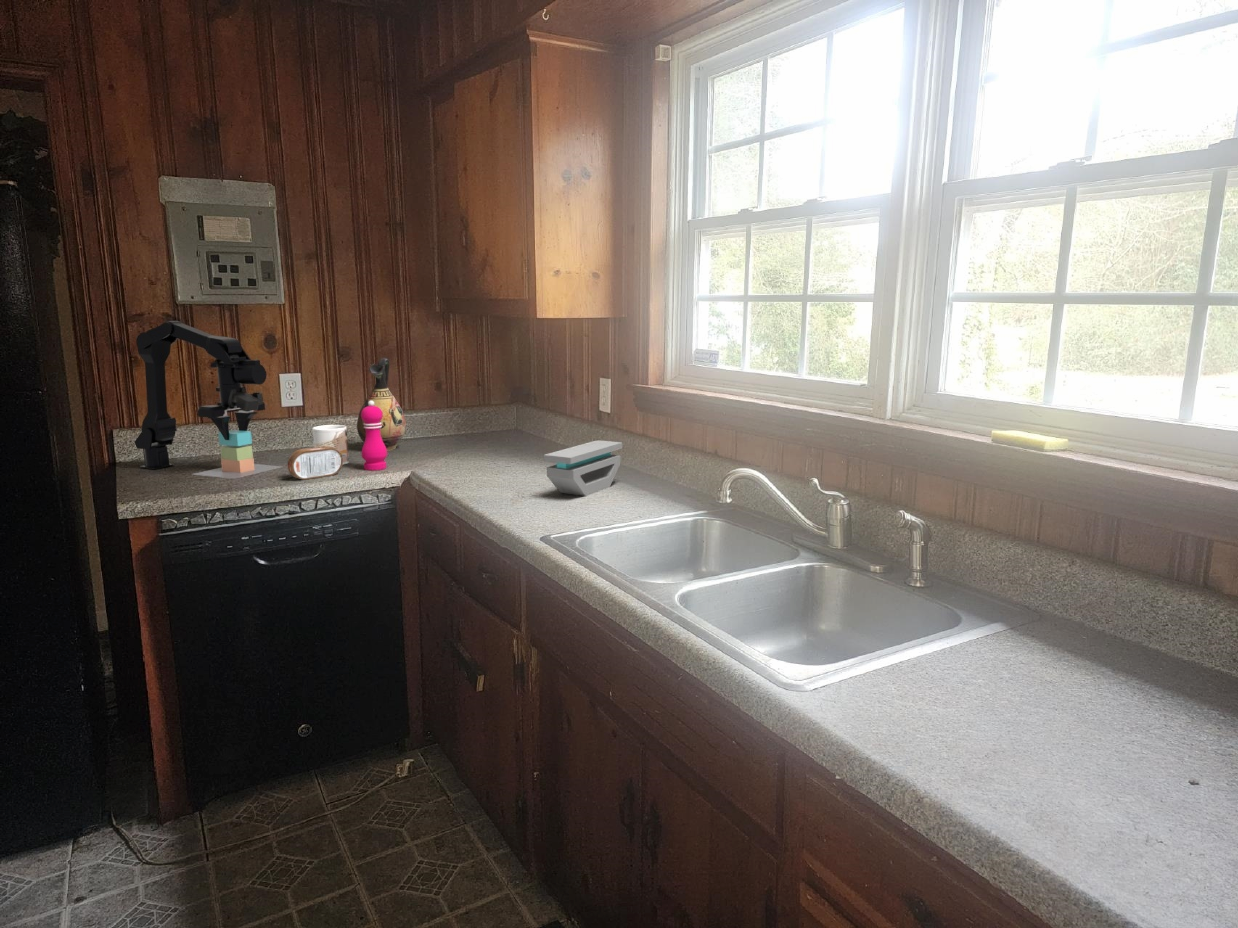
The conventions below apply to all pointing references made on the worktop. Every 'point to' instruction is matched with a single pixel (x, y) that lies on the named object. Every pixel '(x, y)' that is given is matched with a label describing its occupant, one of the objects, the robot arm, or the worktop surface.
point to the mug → (332, 438)
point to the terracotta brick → (237, 465)
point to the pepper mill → (373, 438)
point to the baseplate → (233, 475)
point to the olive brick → (236, 452)
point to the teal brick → (236, 438)
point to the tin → (315, 462)
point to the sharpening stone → (584, 467)
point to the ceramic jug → (384, 408)
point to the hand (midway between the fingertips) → (235, 438)
